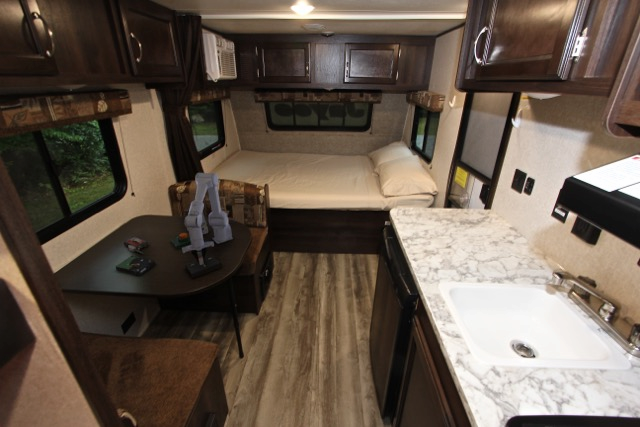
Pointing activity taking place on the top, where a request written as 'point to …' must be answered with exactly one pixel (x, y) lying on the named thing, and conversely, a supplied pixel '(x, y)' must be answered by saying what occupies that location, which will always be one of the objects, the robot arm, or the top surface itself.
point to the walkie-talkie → (135, 244)
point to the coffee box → (204, 223)
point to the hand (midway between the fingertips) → (201, 260)
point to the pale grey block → (200, 258)
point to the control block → (181, 242)
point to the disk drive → (135, 265)
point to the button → (183, 235)
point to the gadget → (202, 266)
